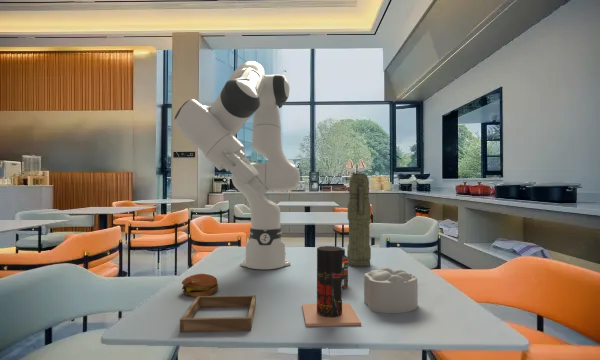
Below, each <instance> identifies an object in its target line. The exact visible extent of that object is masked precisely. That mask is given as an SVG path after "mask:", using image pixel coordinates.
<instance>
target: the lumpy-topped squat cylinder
mask: <svg viewBox="0 0 600 360" xmlns="http://www.w3.org/2000/svg"><path fill="white" fill-rule="evenodd" d="M363 278H364V279H363V280H364V281H363V296H364V297H363V298H364V299H363V302H364V304H366V305H367V306H368V309H369V310H370V311H373V312H375V313H376V312H377V313H383V314H384V313H385V314H386V313H387V314H391V313H392V314H395V313H396V314H397V313H399V314H400V313H408V312H411V311H415V310H416V309H417V308H418V306H419V305H418V302H419V300H418V296H419V295H418V286H419V285H418V277H417V276H416V275H413V274H412V273H408V272H407V271H405V270H403V269H395V270H392V269H391V268H389V267H386V266H385V267H382V268H380V269H372V270H371V271H368V272H366V273H364V276H363Z"/></svg>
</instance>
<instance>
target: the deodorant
mask: <svg viewBox="0 0 600 360" xmlns="http://www.w3.org/2000/svg"><path fill="white" fill-rule="evenodd" d="M342 248H343V247H340V246H336V245H335V246H334V245H333V246H331V245H326V246H325V245H324V246H322V245H321V246H318V247H317V248H316V304H317V314H318V315H320V316H323V317H338V316H340V315H342V303H343V288H342Z"/></svg>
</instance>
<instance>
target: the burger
mask: <svg viewBox="0 0 600 360" xmlns="http://www.w3.org/2000/svg"><path fill="white" fill-rule="evenodd" d="M181 284H182V288H181V290H182V293H183V294H184V295H186V296H190V297H191V298H197V296H212V294H213V293H215V292H217V291H218V289H219V283H218V279H217V277H215V276H214V275H211V274H207V273H196V274H192V275H190V276H187V277H186V278H184V279H183V280H182V282H181Z"/></svg>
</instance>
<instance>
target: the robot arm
mask: <svg viewBox="0 0 600 360" xmlns="http://www.w3.org/2000/svg"><path fill="white" fill-rule="evenodd" d="M228 79H229V80H227V81H226V82H225V84H224V86H223V88H222V89H221V92H220V93H219V94H218V96H217V97H216V99H215V100H214V102H213V103H212V105H203V104H201V103H200V102H198V100H196V99H194V98H190V99H188V100H187V101H185V102H184V103H183V104H182V105H181V106H180V108H179V109H177V112H176V113H175V116H174V123H175V126H176V127H177V129H179V131H180V132H181V134H183V136H184V137H185V138H186V139H187V140H188V141H189V142H190V143H191V144H192V145H193V146H194V147H196V148H198V149H199V150H201V152H202V154H203V155H204V157H205V158H206V159H207V160H208V161H209V162H210V163H211V164H212V165H213V166H214V167H215V168H216V169H217V170H218V171H221V170H225V171H226V172H230V173H231V181H232V184H233V186H234V187H235V189H236V190H238V191H239V192H240V193H241V194H242V195H243V196H244V197H245V198H246V201H247V202H248V205H249V210H250V228H249V240H248V241H247V242H246V243H245V253H244V254H245V255H244V258H245V259H244V260H242V261H241V262H240V266H241V267H246V268H249V269H253V270H275V269H280V268H283V267H288V266H291V262H290V260H288V259H287V257H286V243H285V242H284V240H282V233H283V232H282V228H281V209H280V208H281V207H280V206H279V205H278V204H277V203H275V202H274V201H272V200H270V199H268V198H267V197H266V196H265V194H267V193H268V192H283V193H284V192H288V191H292V190H295V189H296V188H297V187H298V185H299V184H300V180H301V174H300V171H299V169H298V167H297V166H296V165H294V163H292V162H291V161H290V160H289V159H288V158H287V157H286V155H285V153H284V151H283V147H282V136H281V134H282V133H281V131H282V129H281V126H282V125H281V117H280V112H279V109H281V108H282V107H283V104H285V103H287V101H288V99H289V96H290V84H289V82H288V79H287V77H286V76H285V75H283V74H278V73H274V74H266V71H265V69H264V67H263V66H262V65H261V64H260V63H258V62H257V61H254V60H249V61H246V62H244V63H241V64H240V65H239V66H238V67H237V68H236V69H235V70H234V71H233V72H232V74H231V75H230V77H229V78H228ZM251 116H253V119H252V138H251V139H252V140H251V146H252V149H253V151H254V152H256V153H257V154H259V155H261V156H263V157H264V158H266V159H267V162H251V161H250V160H249V158H247V156H246V153H245V145H244V144H243V143H242V142H241V141H240V140H239V139H238V138H237V137H236V135H237V134H238V132H239V131H240V130H241V129H242V127H244V125H245V124H246V123H247V121H248V120H249V119H250V118H251Z"/></svg>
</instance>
